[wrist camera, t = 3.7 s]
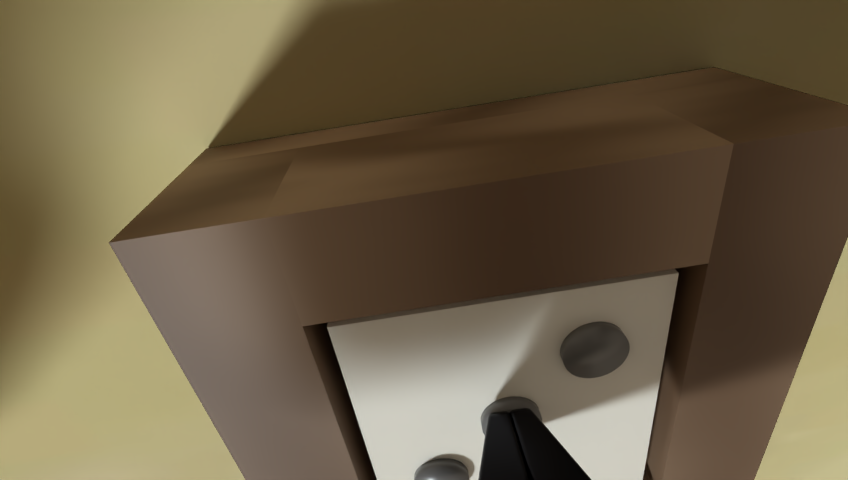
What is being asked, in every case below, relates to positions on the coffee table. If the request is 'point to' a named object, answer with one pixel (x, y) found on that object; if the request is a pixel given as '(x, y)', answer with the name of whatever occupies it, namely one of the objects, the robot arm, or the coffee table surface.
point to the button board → (504, 252)
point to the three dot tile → (511, 375)
